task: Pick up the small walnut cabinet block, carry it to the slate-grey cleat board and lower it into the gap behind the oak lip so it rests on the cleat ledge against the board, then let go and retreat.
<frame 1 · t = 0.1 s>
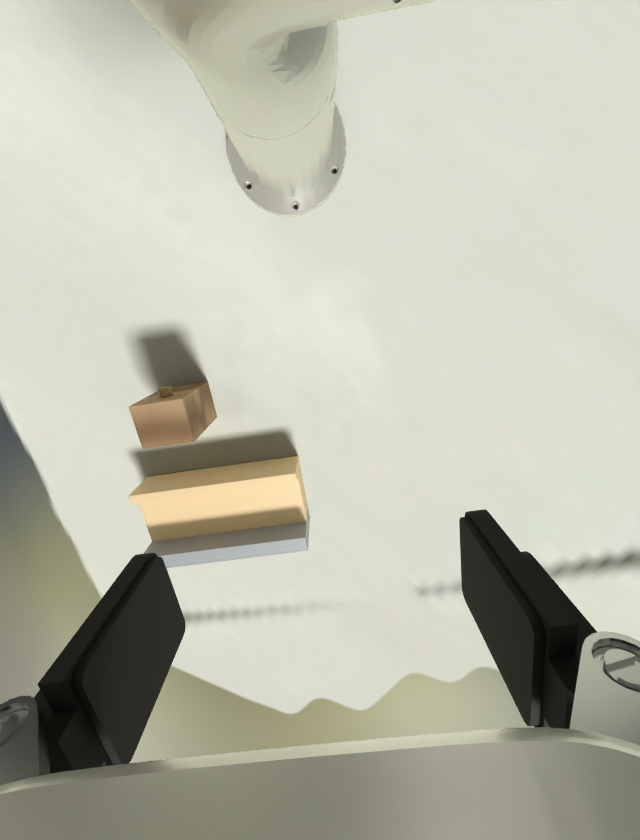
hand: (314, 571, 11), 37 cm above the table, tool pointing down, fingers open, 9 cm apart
cabinet block: (190, 402, 47), on the table
cleat board: (236, 520, 53), on the table
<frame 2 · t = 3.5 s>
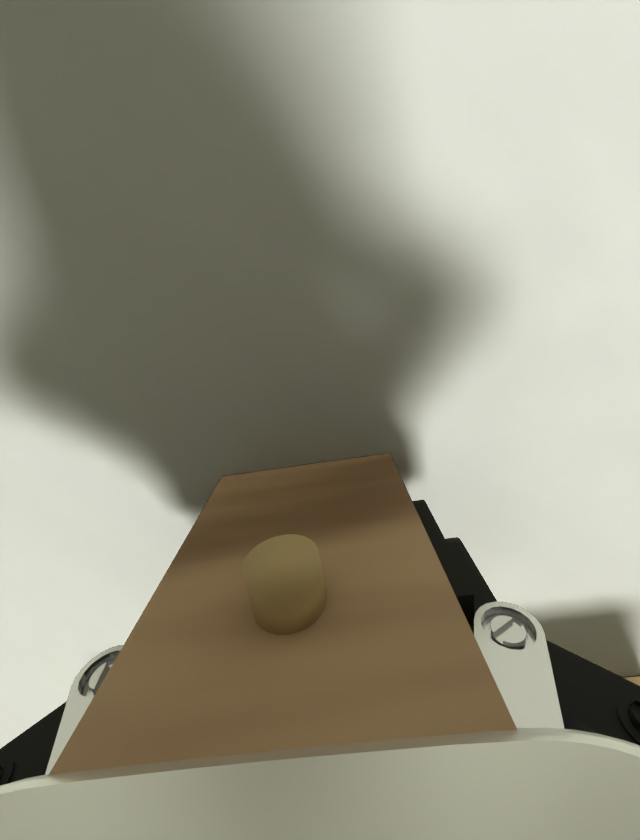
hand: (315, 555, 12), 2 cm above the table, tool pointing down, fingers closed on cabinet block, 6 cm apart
cabinet block: (315, 524, 13), on the table, touching gripper
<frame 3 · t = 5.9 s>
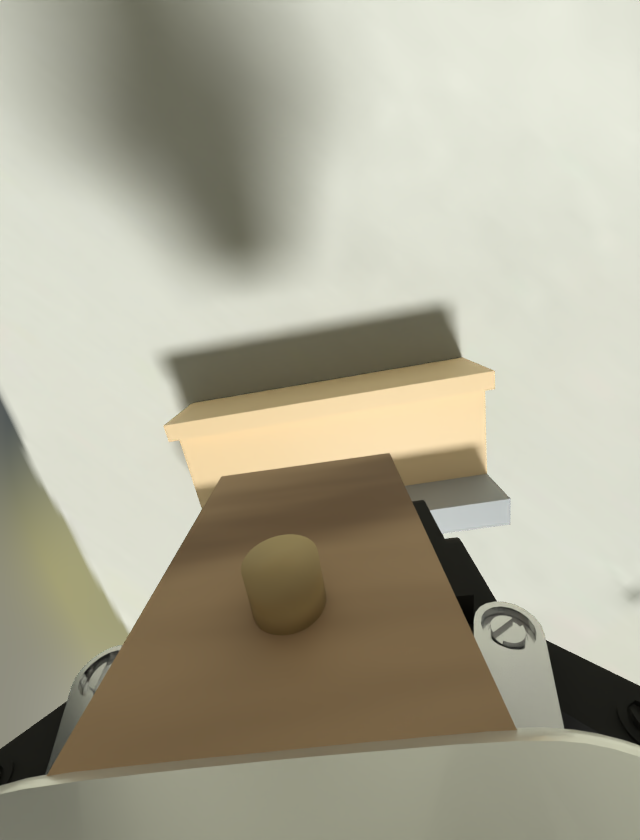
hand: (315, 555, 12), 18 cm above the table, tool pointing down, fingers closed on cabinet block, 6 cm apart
cabinet block: (315, 524, 13), point 17 cm above the table, touching gripper
cleat board: (341, 481, 31), on the table
when the fingers open (7 cm above the table, at t = 8.2 s): cabinet block drops 1 cm, resting on cleat board.
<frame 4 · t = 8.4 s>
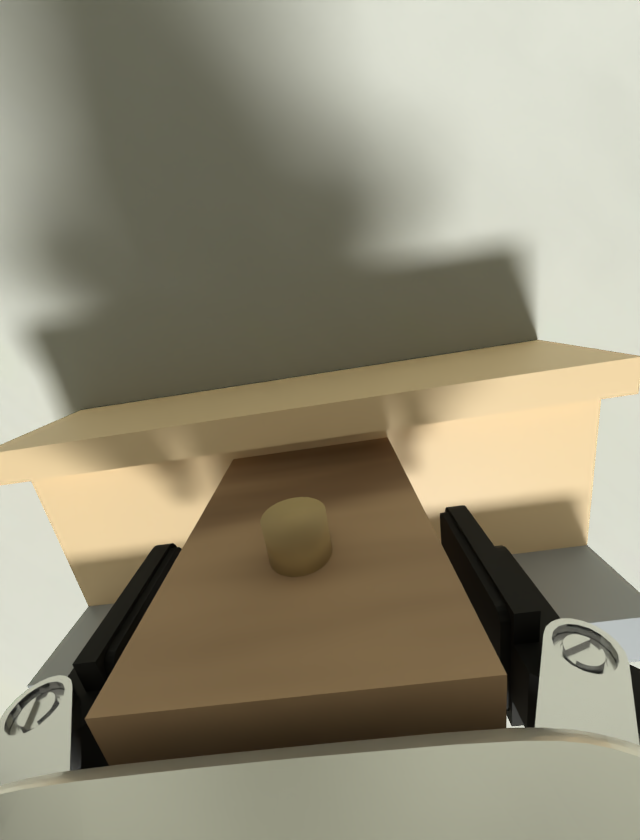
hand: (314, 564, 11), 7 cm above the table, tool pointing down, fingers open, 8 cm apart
cabinet block: (319, 504, 14), point 4 cm above the table, touching cleat board
cleat board: (329, 538, 19), on the table
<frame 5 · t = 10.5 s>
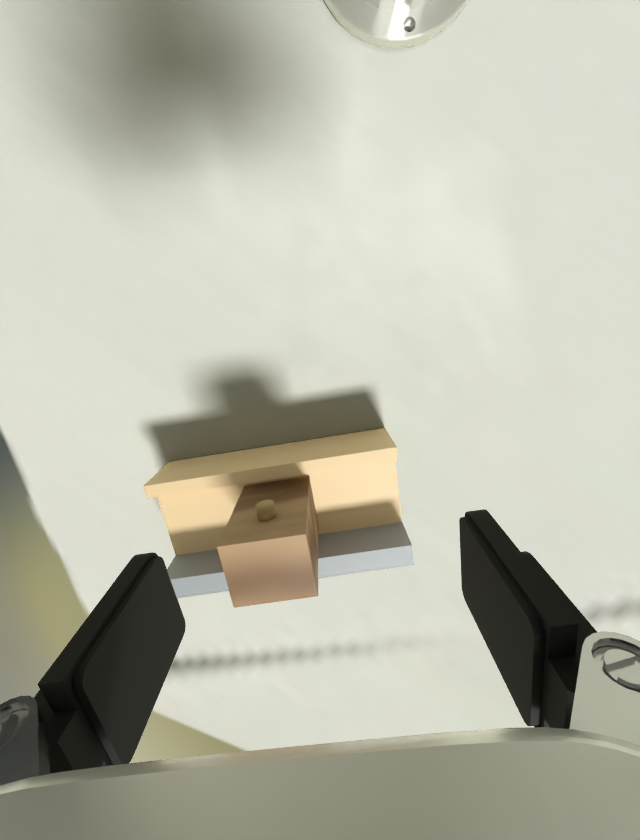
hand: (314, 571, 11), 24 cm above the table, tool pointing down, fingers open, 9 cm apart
cabinet block: (281, 505, 33), point 4 cm above the table, touching cleat board
cleat board: (292, 524, 38), on the table
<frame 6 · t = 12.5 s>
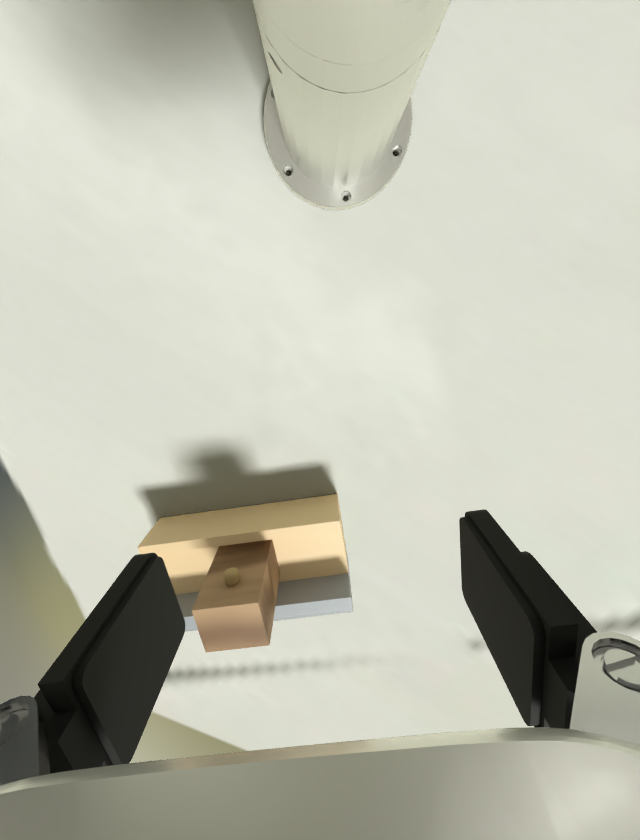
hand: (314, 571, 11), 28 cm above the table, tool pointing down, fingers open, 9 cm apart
cabinet block: (250, 559, 40), point 4 cm above the table, touching cleat board
cleat board: (262, 567, 45), on the table
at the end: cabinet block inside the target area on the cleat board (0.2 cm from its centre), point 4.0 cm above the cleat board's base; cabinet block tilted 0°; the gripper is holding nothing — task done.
